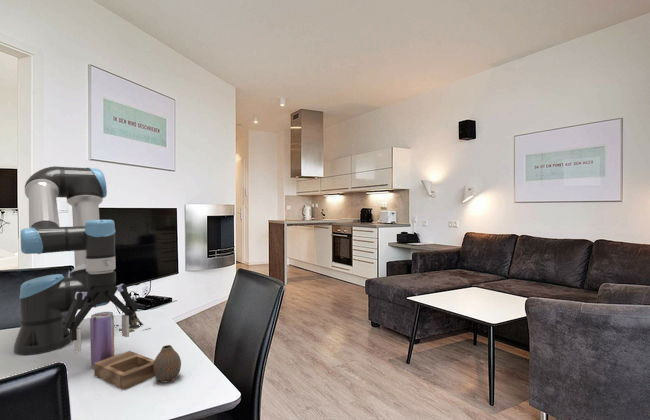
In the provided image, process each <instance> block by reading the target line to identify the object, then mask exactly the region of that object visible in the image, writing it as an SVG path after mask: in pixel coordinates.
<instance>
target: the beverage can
mask: <svg viewBox="0 0 650 420" xmlns="http://www.w3.org/2000/svg"><path fill="white" fill-rule="evenodd" d="M114 317H115V316H114V313H113V312H112V311H101V312H96V313H93V314H91V316H90V319H89V323H90V324H89V327H90V329H89V332H90V335H89V336H90V365H91V367H92V368H93V369H94V363H96V362H99V361H102V360H105V359H107V358H110V357H113V356H115V326H114V325H115V318H114Z"/></svg>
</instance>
